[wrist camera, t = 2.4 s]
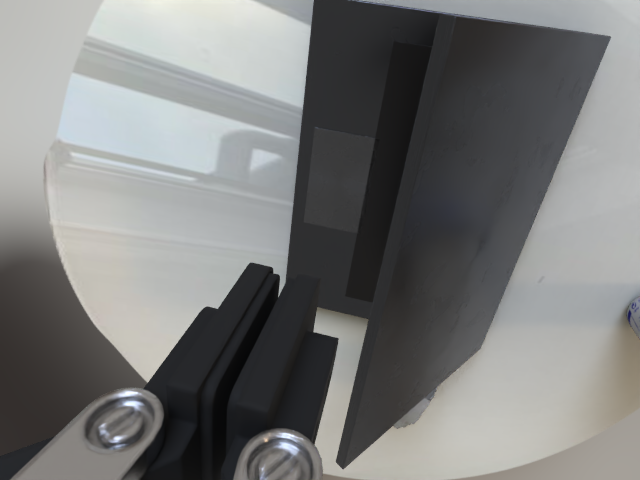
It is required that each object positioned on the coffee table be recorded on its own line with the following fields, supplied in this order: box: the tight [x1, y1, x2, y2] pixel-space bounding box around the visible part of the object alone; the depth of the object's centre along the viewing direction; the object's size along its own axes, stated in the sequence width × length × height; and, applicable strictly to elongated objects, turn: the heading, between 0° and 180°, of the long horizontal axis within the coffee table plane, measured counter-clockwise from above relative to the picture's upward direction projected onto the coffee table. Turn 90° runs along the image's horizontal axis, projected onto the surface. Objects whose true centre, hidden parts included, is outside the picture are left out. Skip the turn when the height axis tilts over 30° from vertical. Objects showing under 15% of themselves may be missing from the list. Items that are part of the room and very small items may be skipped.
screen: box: [336, 14, 611, 469], centre depth 31 cm, size 21×30×1 cm
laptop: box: [286, 0, 592, 319], centre depth 40 cm, size 21×30×2 cm
